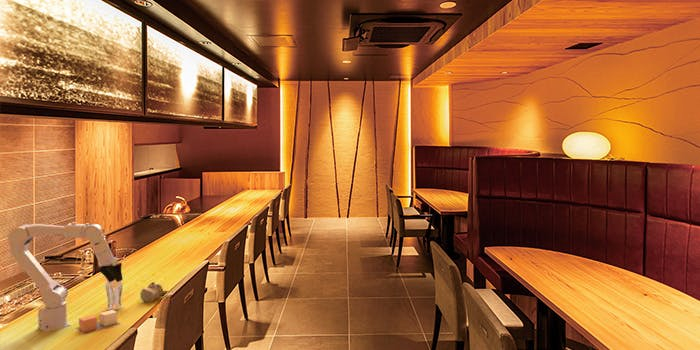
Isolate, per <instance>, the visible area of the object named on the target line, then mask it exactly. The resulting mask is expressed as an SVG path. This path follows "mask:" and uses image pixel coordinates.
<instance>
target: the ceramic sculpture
mask: <svg viewBox="0 0 700 350" xmlns="http://www.w3.org/2000/svg"><path fill="white" fill-rule="evenodd" d="M167 292H169V290H164V288H163V286H162V285H161V284H160V283H155V282H154V281H153V282H151V283H149V284H148V286H147V287H146V288H142V289H141V291H140V293H139V294H140V300H141V301H142V302H145V303H151V302H152V301H153V300H157V299H159V298H164V297H163V296H164V295H165V294H166V293H167Z"/></svg>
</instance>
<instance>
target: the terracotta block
mask: <svg viewBox="0 0 700 350" xmlns="http://www.w3.org/2000/svg"><path fill="white" fill-rule="evenodd" d="M78 319H79V320H78V325H79V326H78V327H79V329H80V330H81V331H83V332H85V331H89V330H92V329H96V328H97V322H98V321H97V320H98V319H97V316H95V315H93V314H91V315H88V316H87V315H86V316H84V317H79V318H78ZM81 331H80V332H81Z"/></svg>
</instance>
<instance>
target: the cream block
mask: <svg viewBox="0 0 700 350" xmlns="http://www.w3.org/2000/svg"><path fill="white" fill-rule="evenodd" d="M99 322H100V324H102V325H103V326H107V325H110V324H114V323H117V322H118V313H117V311H116V310H106V311H103V312H100V313H99Z"/></svg>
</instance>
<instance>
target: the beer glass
mask: <svg viewBox="0 0 700 350" xmlns="http://www.w3.org/2000/svg"><path fill="white" fill-rule="evenodd" d="M123 289H124V280H121V281H119V282H117V281H116V280H114V281H112V282H109V281H108V280H107V278H106V277H105V291H106V292H105V293H106V296H107V297H106V298H107V307H106V309H107V311H110V310H114V311H116V310H119V309H122V308H123V305H122V295H123Z"/></svg>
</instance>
